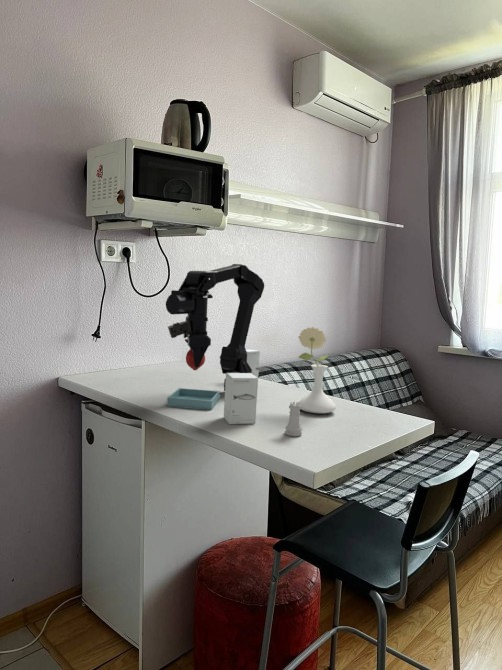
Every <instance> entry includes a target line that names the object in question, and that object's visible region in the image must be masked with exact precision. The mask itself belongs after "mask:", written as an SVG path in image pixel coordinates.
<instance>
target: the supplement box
mask: <svg viewBox="0 0 502 670" xmlns="http://www.w3.org/2000/svg"><path fill="white" fill-rule="evenodd" d="M225 378H226V381H225V391H224V393H225V394H224V402H223V418H224V419H225V421H226V422H227V423H228V424H229V425H239V424H240V425H241V424H242V425H244V424H245V425H246V424H249V425H250V424H251V425H253V424H256V421H257V419H256V418H257V404H258V403H257V402H258V399H257V398H258V389H259V388H258V387H259V377H258V378H257V377H256V376H254V375H253V374H252V373H226V374H225Z"/></svg>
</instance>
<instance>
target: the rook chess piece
mask: <svg viewBox="0 0 502 670" xmlns="http://www.w3.org/2000/svg"><path fill="white" fill-rule="evenodd" d="M298 402H299V401H298ZM298 402H295V401H291V402H290V404H289V406H288V408H289V418H288V419H289V420H288V422H287V425H286V426H285V428H284V429H285V430H284V434H286V436H287V437H296V438H297V437H301V436H302V434H303V432H302V431H303V428H302V426H301V425H302V424H301V422H300V414H301V412H300V410H302V409H301V408H302V407H301V406H300V403H299V404H298Z"/></svg>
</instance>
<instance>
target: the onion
mask: <svg viewBox="0 0 502 670" xmlns="http://www.w3.org/2000/svg"><path fill="white" fill-rule="evenodd" d="M185 362H186V365H187V366H188V367H189V368H190V369H192V370H193V371H197V370H199V369H200V368H201V367H202V366H203V365H204V364H205V362H206V355H205V354H204V356H203V358H202V361H201V363H200V365H199V367H195V365H194V358H193V351H192V349H190V348H189V349H188V351H187V352H186V355H185Z"/></svg>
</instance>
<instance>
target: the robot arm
mask: <svg viewBox="0 0 502 670" xmlns="http://www.w3.org/2000/svg"><path fill="white" fill-rule="evenodd" d="M230 280H233V283H234V285H235V286H237V296H238V299H239V304H238V306H237V307H238V308H237V311H236V316H235V320H234V324H233V328H232V333H231V337H230V341H229V343H228V344H227V346H222V347H221V353H220V356H219V364H220V365H219V366H220V367H221V368H220V369H221V372H222V374H224V375H226V373H251V372H252V369H251V368H250V366H249V365H248V363H247V352H246V350H247V349H246V342H247V337H248V333H249V330H250V325H251V322H252V318H253V317H252V316H253V312H254V307H255V305H256V304H257V302H258V301H259V300H260V299H261V298H262V295H263V292H264V289H265V282H264V281H263V279H262V278H261V277H260V276H259V274H257V272H254V271H253V270H251V269H249V267H248V266H247V265H246V264H244V263H232V264H231V265H227V266H223V267H220V268H216V269H212V270H189V271H188V272H187V273H186V276H185V278H184V280H183V281H182V283H181V285H180V287H179V289H178V290H175V289H174V290H173V289H172V290H171V291H170V295H168V297H167V298H166V301H165V308H166V312H168V314H170V315H186V316H185V321H180V322H176V323H172V324H171V325H169V326H167V330H168V332H169V335H170V337H171V339H174V338H177V337H178V336H181V335H182V336H183V339H184V341H185V342H186V343H187V345H188V347H189V350H190V349H192V351H193V358H194V365H195V367H199V365H200V363H201V361H202V358H203V356H204V355H205V354H206V352H207V350H208V348H209V347H210V346H212V343H211V342H212V339H211V337H210V336H209V335H208V330H207V328H208V327H207V323H208V320H209V318H208V299H213V297H214V296H213V295H212V293H210V291H209V290H211V289H213V288H215V286H216V285H217V284H219V283H223V282H226V281H230ZM223 381H224V382H223V383H224V384H223V391H224V395H225V381H226V377H225V378H224V380H223Z"/></svg>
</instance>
